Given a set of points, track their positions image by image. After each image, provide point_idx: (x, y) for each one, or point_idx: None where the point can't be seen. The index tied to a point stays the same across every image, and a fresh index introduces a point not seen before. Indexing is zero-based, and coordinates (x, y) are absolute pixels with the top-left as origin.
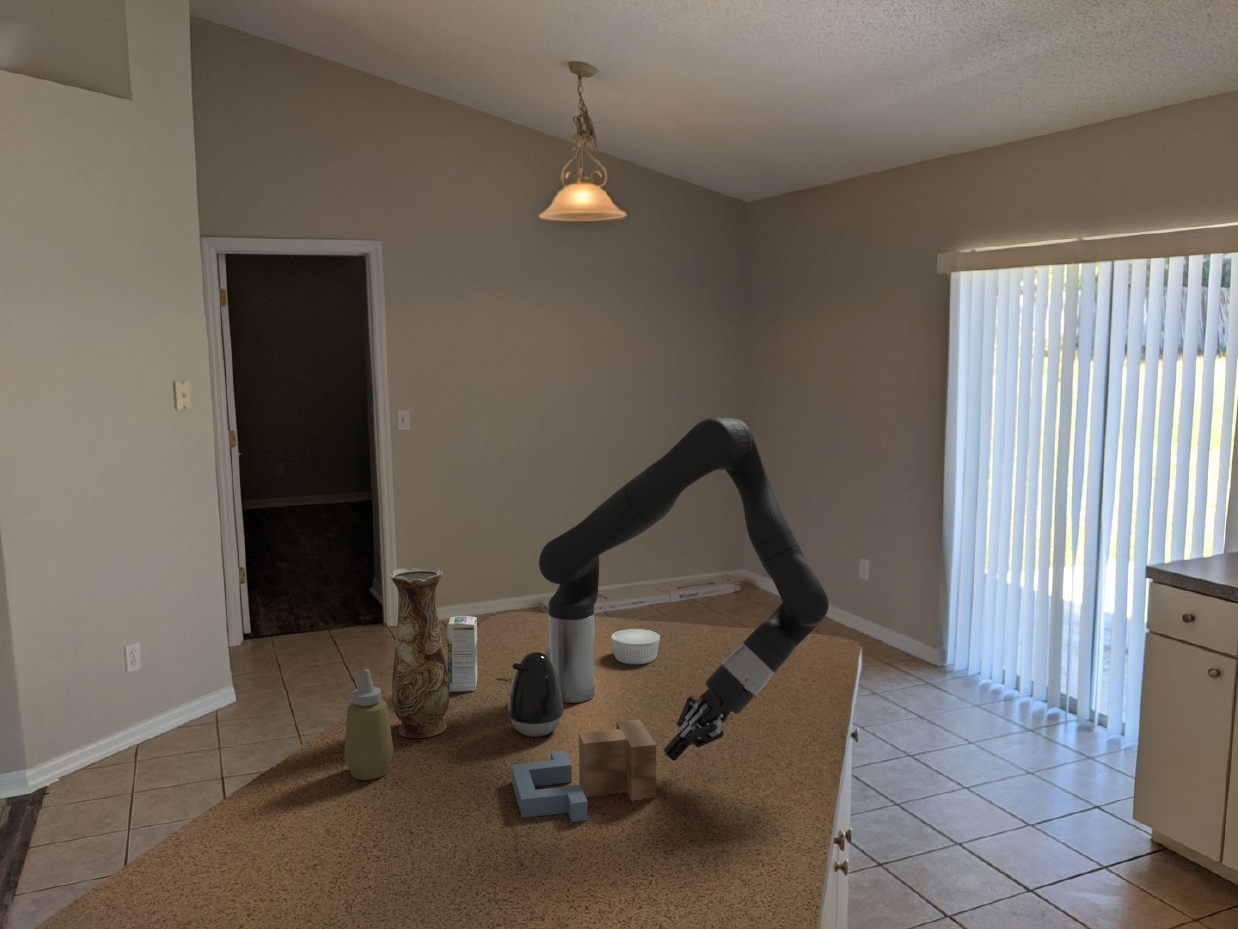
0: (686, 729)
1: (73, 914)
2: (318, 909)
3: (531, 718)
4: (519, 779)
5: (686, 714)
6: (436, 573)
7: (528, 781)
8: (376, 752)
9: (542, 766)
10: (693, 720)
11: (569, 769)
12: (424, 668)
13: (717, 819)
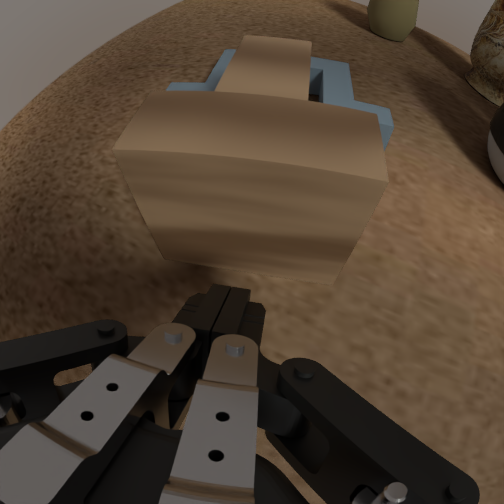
0: (170, 353)
1: None
2: (178, 6)
3: (494, 121)
4: None
5: (331, 432)
6: None
7: None
8: (372, 4)
9: (329, 82)
10: (113, 379)
11: None
12: (496, 13)
13: (23, 336)
